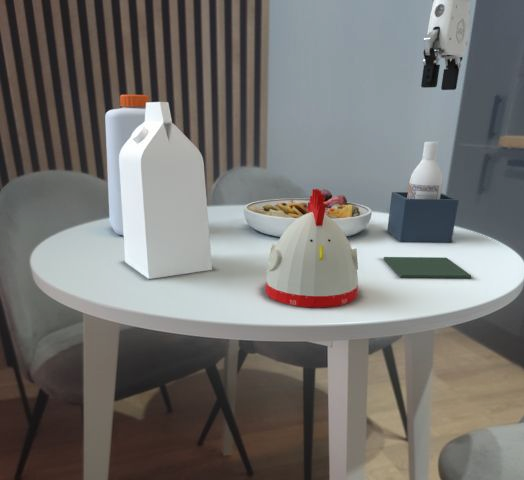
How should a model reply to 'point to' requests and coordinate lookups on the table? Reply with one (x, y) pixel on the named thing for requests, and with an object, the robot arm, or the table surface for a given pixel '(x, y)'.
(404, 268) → the mat
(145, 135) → the milk
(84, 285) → the table surface
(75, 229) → the table surface
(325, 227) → the kitchen timer
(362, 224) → the bowl
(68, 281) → the table surface
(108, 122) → the plastic bottle
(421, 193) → the bath foam
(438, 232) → the dark blue open box
